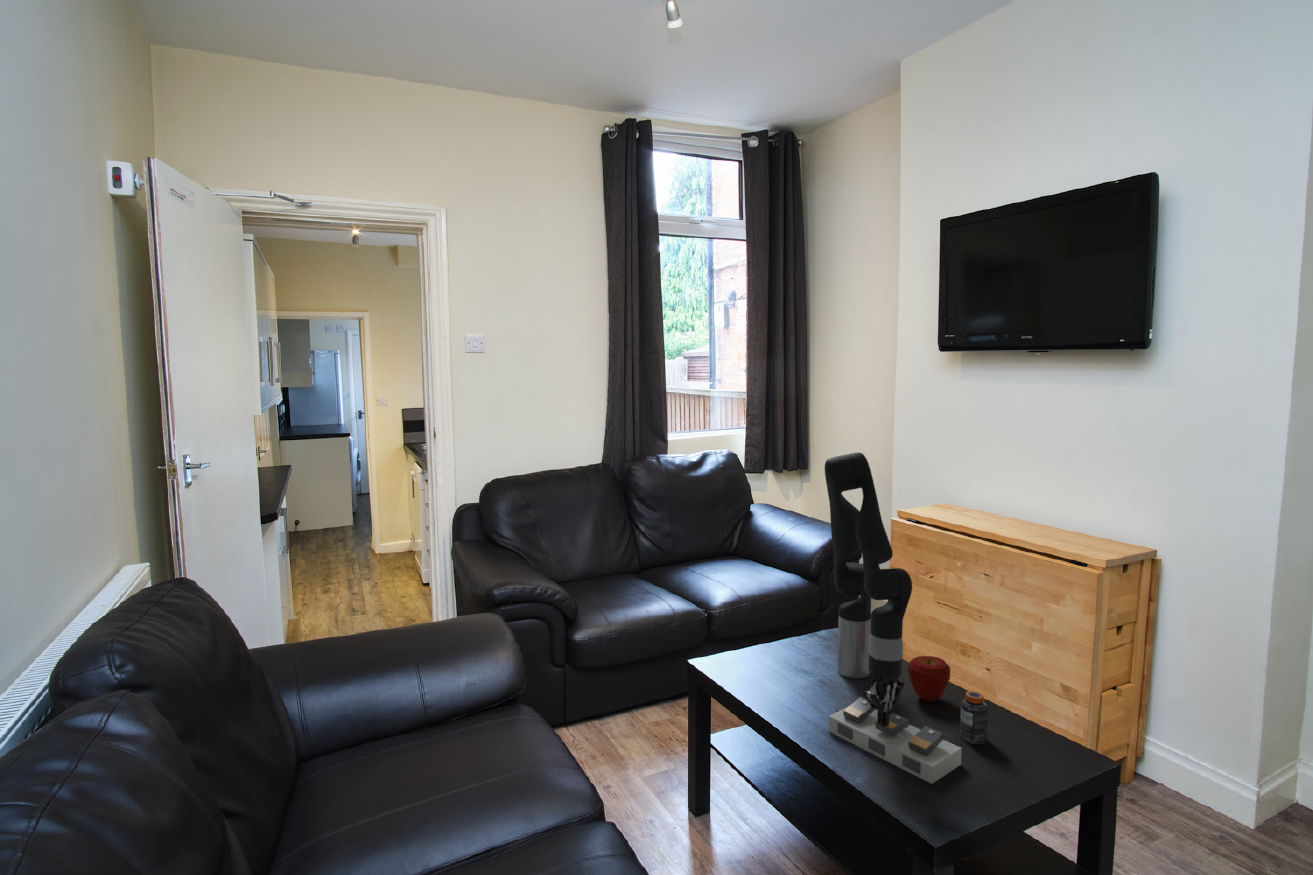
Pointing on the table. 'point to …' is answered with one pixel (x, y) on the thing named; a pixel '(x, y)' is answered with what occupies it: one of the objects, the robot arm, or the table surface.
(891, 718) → the block
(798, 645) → the table surface
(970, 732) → the pill bottle
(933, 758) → the power strip
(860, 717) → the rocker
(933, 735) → the rocker
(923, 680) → the apple
